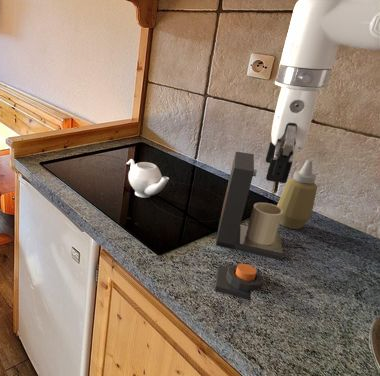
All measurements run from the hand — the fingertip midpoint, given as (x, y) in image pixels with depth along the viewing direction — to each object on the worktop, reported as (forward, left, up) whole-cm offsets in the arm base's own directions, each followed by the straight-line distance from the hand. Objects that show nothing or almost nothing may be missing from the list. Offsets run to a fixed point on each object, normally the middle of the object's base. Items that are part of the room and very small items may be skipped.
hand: (274, 171), depth 75 cm
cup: (-3, -17, -23) cm, 29 cm away
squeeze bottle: (-11, -31, -25) cm, 41 cm away
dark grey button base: (0, +3, -24) cm, 25 cm away
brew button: (0, +3, -22) cm, 22 cm away
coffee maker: (-1, -17, -24) cm, 30 cm away
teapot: (+28, -31, -25) cm, 49 cm away
